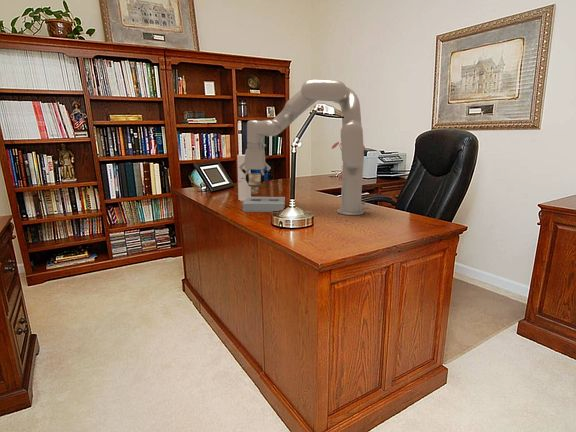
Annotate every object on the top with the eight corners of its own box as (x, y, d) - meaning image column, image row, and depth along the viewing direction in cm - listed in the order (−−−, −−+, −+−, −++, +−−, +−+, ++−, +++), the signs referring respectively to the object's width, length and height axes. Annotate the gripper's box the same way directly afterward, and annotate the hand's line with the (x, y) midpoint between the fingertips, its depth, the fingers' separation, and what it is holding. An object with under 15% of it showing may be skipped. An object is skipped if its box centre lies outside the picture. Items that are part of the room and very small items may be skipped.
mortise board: (284, 204, 186) (284, 197, 185) (284, 212, 169) (284, 203, 168) (247, 204, 187) (247, 196, 186) (242, 211, 169) (242, 203, 168)
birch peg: (262, 192, 179) (262, 173, 177) (260, 194, 173) (260, 174, 171) (249, 192, 179) (249, 173, 177) (247, 194, 173) (247, 174, 171)
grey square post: (248, 201, 194) (247, 155, 188) (236, 200, 196) (235, 155, 190) (252, 198, 201) (251, 154, 195) (240, 198, 202) (239, 154, 196)
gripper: (273, 146, 174) (272, 182, 178) (238, 145, 174) (238, 181, 179) (272, 147, 167) (271, 184, 171) (236, 146, 167) (236, 183, 171)
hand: (255, 182), depth 175 cm, fingers closed on birch peg, 6 cm apart
